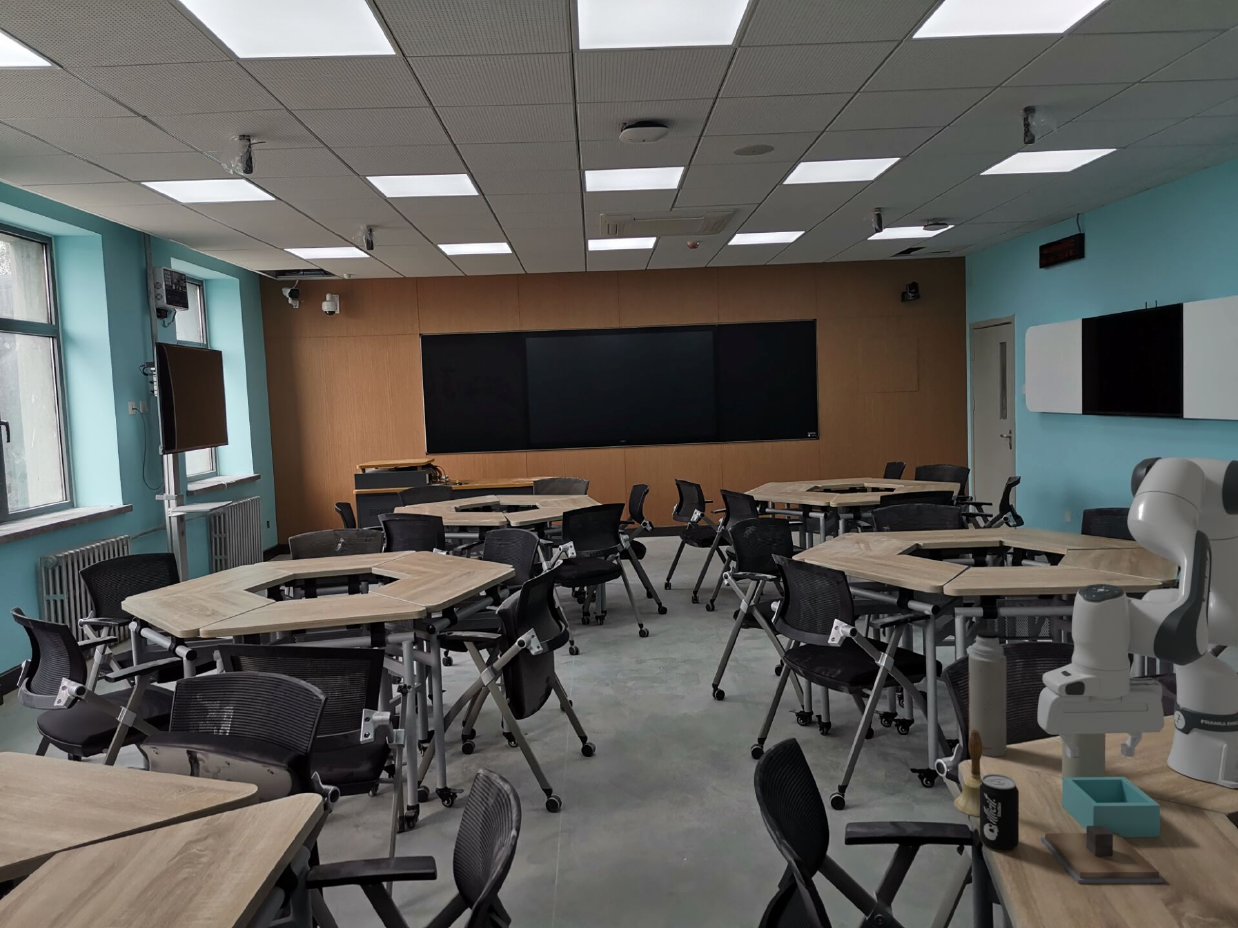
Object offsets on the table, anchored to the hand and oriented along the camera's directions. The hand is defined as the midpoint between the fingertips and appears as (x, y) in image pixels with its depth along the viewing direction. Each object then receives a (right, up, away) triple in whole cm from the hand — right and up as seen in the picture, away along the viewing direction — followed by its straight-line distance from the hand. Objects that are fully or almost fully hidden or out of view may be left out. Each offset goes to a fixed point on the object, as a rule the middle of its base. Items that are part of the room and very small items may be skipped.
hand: (1100, 755), depth 148 cm
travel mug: (+14, -17, +31) cm, 37 cm away
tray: (+1, -19, +1) cm, 19 cm away
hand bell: (-13, -18, +22) cm, 31 cm away
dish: (+10, -18, +15) cm, 25 cm away
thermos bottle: (+2, -16, +49) cm, 52 cm away
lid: (+1, -18, +1) cm, 18 cm away
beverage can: (-14, -19, +8) cm, 25 cm away
